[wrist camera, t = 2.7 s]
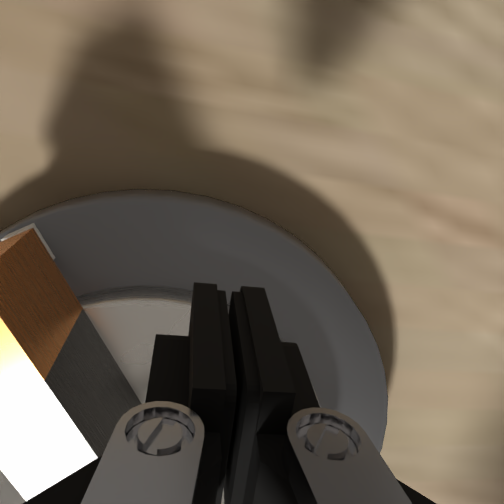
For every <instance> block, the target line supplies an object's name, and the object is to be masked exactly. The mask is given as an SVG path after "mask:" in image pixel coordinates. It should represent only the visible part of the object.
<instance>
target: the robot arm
mask: <svg viewBox="0 0 504 504" xmlns="http://www.w3.org/2000/svg"><path fill="white" fill-rule="evenodd" d="M223 488H224V504H436V503H434V502H433V501H431V500H429V499H428V498H426V497H425V496H423V495H421V494H420V493H418V492H417V491H415V490H413V489H412V488H410V487H409V486H407V485H405V484H404V483H402V482H400V481H399V480H397V479H396V478H395V476H394V475H393V473H392V472H391V470H390V469H389V467H388V466H387V464H386V463H385V461H384V460H383V458H382V457H381V455H380V453H379V452H378V450H377V449H376V447H375V446H374V444H373V443H372V441H371V440H370V438H369V437H368V435H367V434H366V432H365V431H364V430H363V429H362V427H361V426H360V425H359V424H358V423H357V422H355V421H354V420H353V419H351V418H350V417H348V416H346V415H344V414H342V413H340V412H338V411H335V410H331V409H327V408H320V406H319V403H318V400H317V398H316V395H315V392H314V389H313V386H312V384H311V381H310V378H309V375H308V372H307V370H306V367H305V364H304V361H303V358H302V355H301V353H300V350H299V347H298V345H297V343H293V342H281V341H280V338H279V334H278V331H277V328H276V324H275V321H274V318H273V314H272V311H271V308H270V304H269V301H268V298H267V294H266V291H265V288H261V287H249V286H241V288H240V292H236V291H232V293H231V299H230V307H229V314H228V307H227V299H226V291H223V290H217V284H210V283H198V282H194V285H193V293H192V303H191V313H190V323H189V333H188V336H179V335H163V334H156V336H155V342H154V349H153V355H152V362H151V368H150V374H149V381H148V387H147V394H146V400H145V403H143V404H141V405H138V406H136V407H133V408H132V409H130V410H129V411H127V412H126V413H125V414H123V416H122V417H121V418H120V420H119V421H118V423H117V424H116V427H115V429H114V431H113V433H112V435H111V438H110V440H109V442H108V444H107V446H106V449H105V451H104V453H103V455H102V456H101V457H99V458H97V459H96V460H94V461H92V462H91V463H89V464H87V465H86V466H84V467H82V468H81V469H79V470H77V471H76V472H74V473H72V474H71V475H69V476H67V477H66V478H64V479H62V480H61V481H59V482H57V483H56V484H54V485H52V486H51V487H49V488H47V489H46V490H44V491H42V492H41V493H39V494H37V495H36V496H34V497H32V498H31V499H29V500H27V501H26V502H24V503H22V504H221V501H222V494H223Z"/></svg>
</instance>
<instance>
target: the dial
mask: <svg viewBox="0 0 504 504" xmlns="http://www.w3.org/2000/svg"><path fill="white" fill-rule="evenodd" d="M192 293H193V291H191V290H186V289H179V288H172V287H165V286H129V287H118V288H110V289H105V290H101V291H96V292H92V293H87V294H84V295H81V296H78V297H76V296H75V295H74V293H73V291H72V290H71V288H70V287H69V285H68V283H67V282H66V280H65V278H64V277H63V275H62V274H61V272H60V270H59V269H58V267H57V265H56V264H55V262H54V261H53V259H52V257H51V256H50V254H49V252H48V251H47V249H46V248H45V246H44V244H43V243H42V241H41V239H40V238H39V236H38V235H37V233H36V231H35V230H34V228H31V229H29V230H26V231H24V232H22V233H19V234H17V235H15V236H13V237H10V238H8V239H6V240H3V241H1V242H0V504H22V503H24V502H26V501H27V500H29V499H31V498H32V497H34V496H36V495H37V494H39V493H41V492H42V491H44V490H46V489H47V488H49V487H51V486H52V485H54V484H56V483H57V482H59V481H61V480H62V479H64V478H66V477H67V476H69V475H71V474H72V473H74V472H76V471H77V470H79V469H81V468H82V467H84V466H86V465H87V464H89V463H91V462H92V461H94V460H96V459H97V458H99V457H101V456H102V455H103V453H104V451H105V449H106V446H107V444H108V442H109V440H110V438H111V435H112V433H113V431H114V429H115V427H116V424H117V423H118V421H119V420H120V418H121V417H122V416H123V414H125V413H126V412H127V411H129V410H130V409H132V408H133V407H136V406H138V405H141V404H143V403H145V400H146V394H147V387H148V381H149V374H150V368H151V362H152V355H153V349H154V342H155V336H156V334H163V335H179V336H188V333H189V323H190V313H191V303H192ZM227 307H228V314H229V307H230V303H228V302H227ZM279 338H280V341H281V342H285V341H284V340H283V339H282V338H281V337H280V336H279ZM309 378H310V377H309ZM310 381H311V379H310ZM311 384H312V382H311ZM312 386H313V385H312ZM313 389H314V387H313ZM314 392H315V390H314ZM315 395H316V393H315ZM316 398H317V396H316ZM317 400H318V399H317ZM318 403H319V401H318ZM319 406H320V404H319ZM320 408H321V407H320ZM221 504H224V488H223V494H222V501H221Z"/></svg>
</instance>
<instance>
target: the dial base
mask: <svg viewBox="0 0 504 504" xmlns="http://www.w3.org/2000/svg"><path fill="white" fill-rule="evenodd" d="M31 228H34V230H35V231H36V233H37V235H38V236H39V238H40V239H41V241H42V243H43V244H44V246H45V248H46V249H47V251H48V252H49V254H50V256H51V257H52V259H53V261H54V262H55V264H56V265H57V267H58V269H59V270H60V272H61V274H62V275H63V277H64V278H65V280H66V282H67V283H68V285H69V287H70V288H71V290H72V291H73V293H74V295H75V296H76V297H78V296H81V295H84V294H87V293H92V292H96V291H101V290H105V289H110V288H118V287H129V286H165V287H172V288H179V289H186V290H191V291H193V285H194V282H198V283H210V284H217V290H223V291H226V299H227V302H228V303H230V299H231V293H232V291H236V292H240V288H241V286H249V287H261V288H265V291H266V294H267V298H268V301H269V304H270V308H271V311H272V314H273V318H274V321H275V324H276V328H277V331H278V334H279V336H280V337H281V338H282V339H283V340H284V341H285V342H293V343H297V345H298V347H299V350H300V353H301V355H302V358H303V361H304V364H305V367H306V370H307V372H308V375H309V377H310V379H311V382H312V385H313V387H314V390H315V393H316V396H317V399H318V401H319V404H320V407H321V408H327V409H331V410H335V411H338V412H340V413H342V414H344V415H346V416H348V417H350V418H351V419H353V420H354V421H355V422H357V423H358V424H359V425H360V426H361V427H362V429H363V430H364V431H365V432H366V434H367V435H368V437H369V438H370V440H371V441H372V443H373V444H374V446H375V447H376V449H377V450H378V452H379V453H380V451H381V449H382V445H383V440H384V435H385V429H386V424H387V406H388V395H387V386H386V377H385V371H384V367H383V363H382V360H381V356H380V353H379V349H378V346H377V344H376V341H375V339H374V337H373V335H372V333H371V330H370V328H369V326H368V324H367V322H366V320H365V318H364V317H363V315H362V314H361V312H360V311H359V309H358V308H357V306H356V305H355V303H354V302H353V300H352V299H351V297H350V296H349V294H348V293H347V291H346V290H345V288H344V287H343V285H342V284H341V282H340V281H339V279H338V278H337V276H336V275H335V274H334V273H333V272H332V271H331V270H330V269H329V267H328V266H327V265H326V264H325V263H324V262H323V261H322V260H321V258H320V257H319V256H318V255H317V254H316V253H314V252H313V251H312V250H311V249H310V248H308V247H307V246H306V245H305V244H304V243H302V242H301V241H300V240H299V239H298V238H297V237H295V236H294V235H292V234H291V233H289V232H287V231H286V230H284V229H283V228H281V227H280V226H278V225H276V224H275V223H273V222H272V221H270V220H268V219H266V218H264V217H262V216H260V215H257V214H255V213H253V212H251V211H249V210H246V209H244V208H242V207H240V206H237V205H234V204H230V203H227V202H224V201H221V200H217V199H214V198H211V197H208V196H202V195H196V194H190V193H184V192H179V191H170V190H148V189H134V190H122V191H110V192H102V193H97V194H92V195H88V196H83V197H78V198H74V199H70V200H67V201H64V202H61V203H58V204H56V205H53V206H50V207H47V208H44V209H42V210H39V211H37V212H35V213H33V214H31V215H29V216H27V217H25V218H23V219H21V220H19V221H18V222H16V223H14V224H12V225H10V226H8V227H7V228H5V229H4V230H3V231H1V232H0V242H1V241H3V240H6V239H8V238H10V237H13V236H15V235H17V234H19V233H22V232H24V231H26V230H29V229H31Z"/></svg>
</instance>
